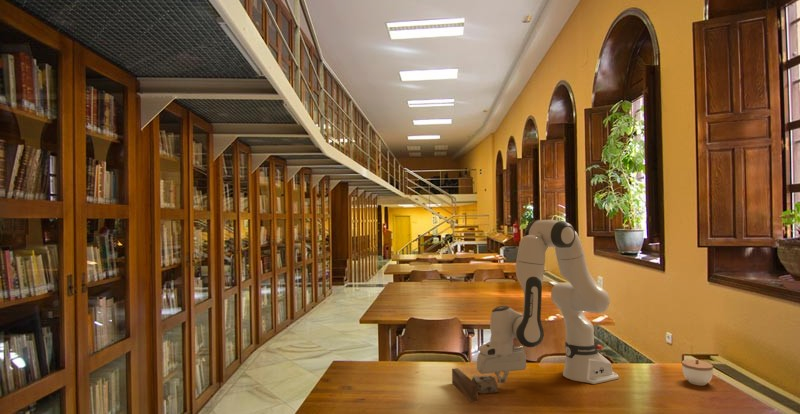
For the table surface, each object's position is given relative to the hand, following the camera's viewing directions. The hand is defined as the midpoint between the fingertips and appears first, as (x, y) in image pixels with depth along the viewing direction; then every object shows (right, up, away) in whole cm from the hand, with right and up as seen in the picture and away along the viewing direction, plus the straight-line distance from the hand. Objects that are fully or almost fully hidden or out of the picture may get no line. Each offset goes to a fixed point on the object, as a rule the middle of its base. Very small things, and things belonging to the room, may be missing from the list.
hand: (501, 382), depth 186 cm
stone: (-7, -3, -1) cm, 8 cm away
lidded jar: (+80, -2, +4) cm, 81 cm away
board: (-16, -2, -4) cm, 16 cm away
